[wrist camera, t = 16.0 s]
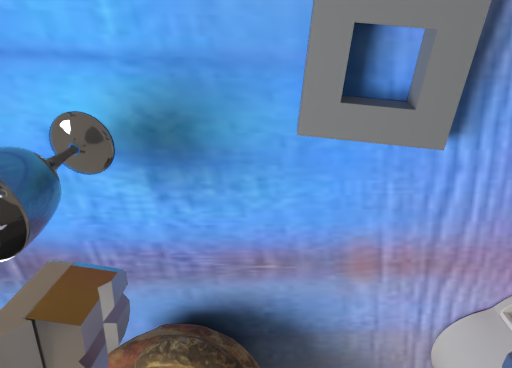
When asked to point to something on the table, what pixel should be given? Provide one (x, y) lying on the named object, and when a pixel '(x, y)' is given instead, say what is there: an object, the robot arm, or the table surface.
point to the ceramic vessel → (181, 349)
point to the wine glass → (46, 177)
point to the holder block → (424, 79)
